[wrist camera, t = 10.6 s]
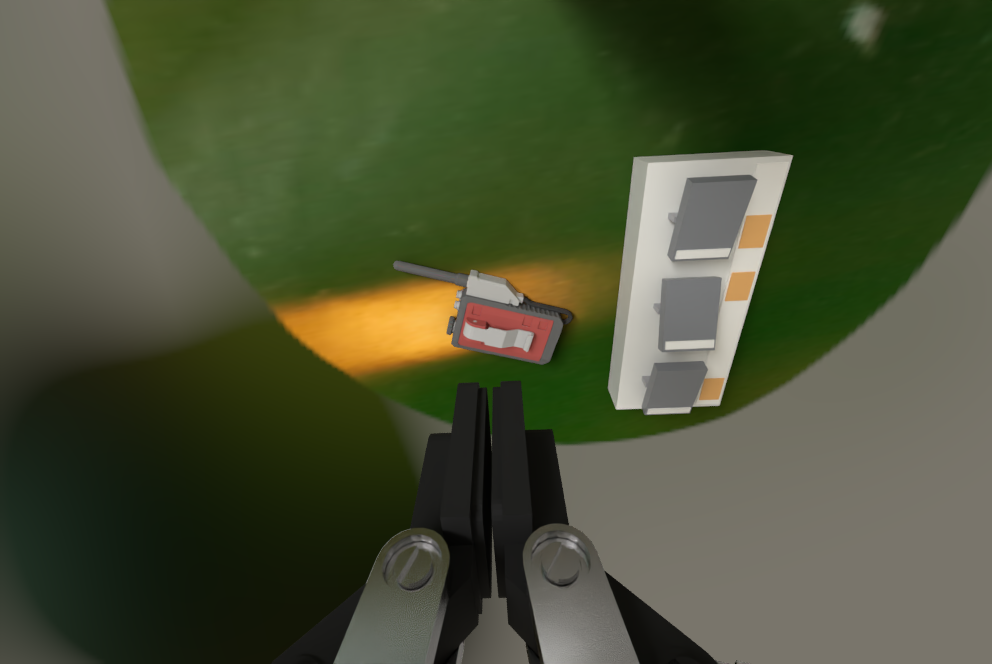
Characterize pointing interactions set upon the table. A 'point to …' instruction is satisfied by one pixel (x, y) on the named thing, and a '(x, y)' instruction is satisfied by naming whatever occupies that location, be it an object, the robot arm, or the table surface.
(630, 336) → the switch unit
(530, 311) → the walkie-talkie
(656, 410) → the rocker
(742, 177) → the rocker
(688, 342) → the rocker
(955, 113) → the table surface
